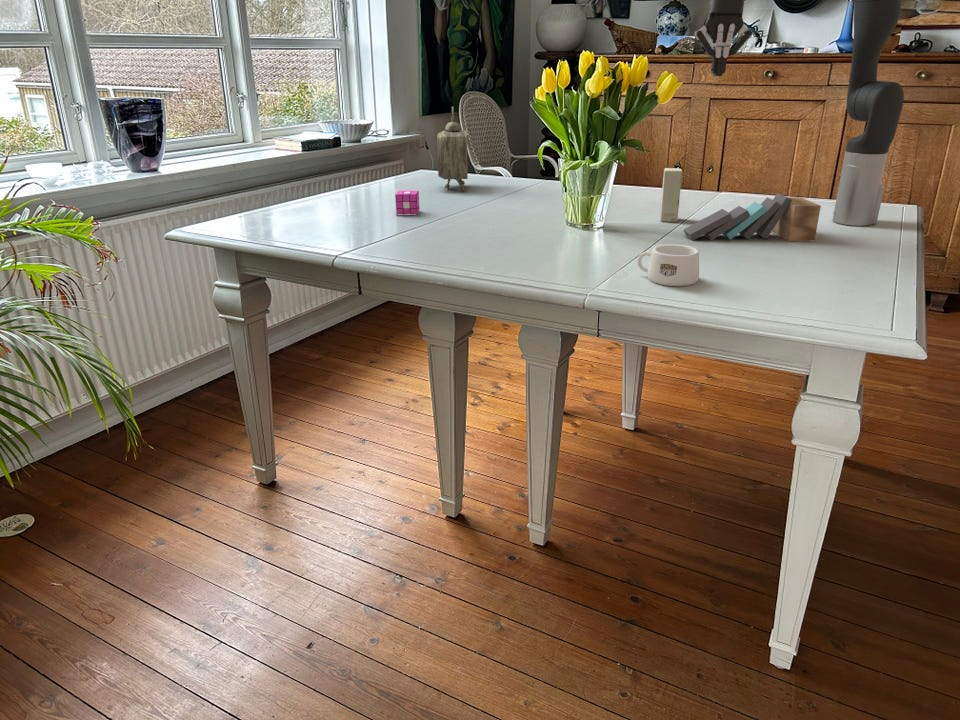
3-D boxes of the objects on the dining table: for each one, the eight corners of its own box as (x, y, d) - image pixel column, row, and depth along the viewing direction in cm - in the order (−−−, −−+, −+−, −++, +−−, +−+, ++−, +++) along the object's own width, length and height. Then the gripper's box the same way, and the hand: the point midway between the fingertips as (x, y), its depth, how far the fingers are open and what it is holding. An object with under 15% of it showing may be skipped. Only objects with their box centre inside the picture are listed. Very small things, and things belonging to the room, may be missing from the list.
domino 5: (757, 233, 170) (782, 196, 167) (766, 238, 166) (792, 200, 162) (752, 230, 170) (777, 193, 167) (760, 235, 165) (786, 197, 162)
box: (677, 222, 182) (682, 171, 177) (659, 221, 183) (664, 170, 178) (676, 218, 187) (681, 167, 182) (659, 217, 188) (663, 167, 182)
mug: (703, 276, 140) (706, 246, 137) (691, 290, 132) (695, 259, 130) (643, 269, 145) (645, 240, 143) (628, 282, 137) (631, 251, 135)
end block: (794, 230, 173) (800, 197, 170) (814, 240, 164) (820, 205, 161) (770, 230, 173) (775, 197, 170) (788, 241, 164) (794, 206, 160)
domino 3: (722, 234, 170) (757, 206, 168) (730, 239, 165) (766, 211, 163) (718, 229, 169) (754, 201, 167) (726, 234, 165) (763, 206, 163)
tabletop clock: (467, 193, 222) (466, 108, 212) (438, 193, 222) (435, 108, 212) (467, 184, 235) (466, 104, 225) (440, 185, 235) (437, 104, 225)
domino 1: (685, 235, 170) (724, 214, 168) (692, 240, 165) (732, 219, 164) (683, 229, 169) (722, 208, 168) (690, 234, 164) (730, 213, 163)
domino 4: (740, 234, 170) (771, 201, 167) (748, 239, 166) (780, 205, 163) (735, 230, 170) (767, 197, 167) (743, 235, 165) (776, 201, 162)
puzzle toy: (417, 215, 193) (416, 194, 191) (396, 215, 193) (395, 194, 191) (419, 211, 198) (418, 190, 196) (399, 211, 199) (398, 190, 196)
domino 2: (704, 235, 170) (741, 211, 168) (711, 240, 165) (750, 216, 163) (701, 229, 169) (739, 205, 167) (708, 234, 165) (747, 210, 163)
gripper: (703, -11, 151) (694, 77, 158) (764, -12, 152) (752, 76, 159) (691, -9, 158) (683, 75, 165) (750, -9, 158) (740, 75, 165)
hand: (717, 75), depth 162 cm, fingers closed
